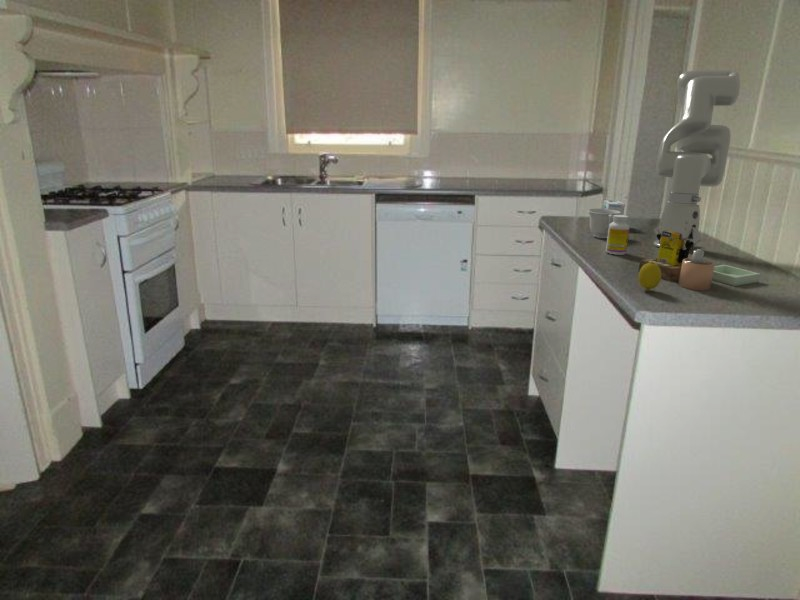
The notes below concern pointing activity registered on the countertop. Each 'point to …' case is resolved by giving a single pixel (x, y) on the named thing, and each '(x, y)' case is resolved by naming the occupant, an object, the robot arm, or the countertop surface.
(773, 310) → the countertop surface
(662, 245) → the supplement box
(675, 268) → the wooden cubby shelf
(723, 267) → the pale green square tray
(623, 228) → the supplement bottle
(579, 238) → the countertop surface
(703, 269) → the tan dispenser bottle
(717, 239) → the countertop surface
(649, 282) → the lemon
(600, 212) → the teacup
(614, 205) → the light bulb box
